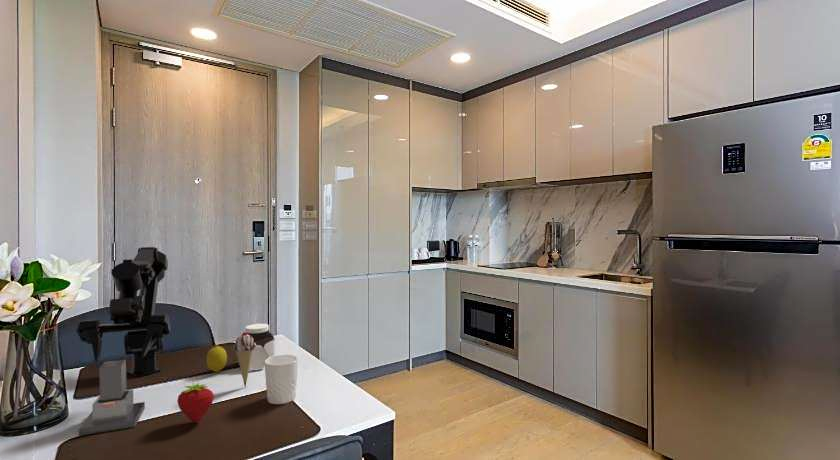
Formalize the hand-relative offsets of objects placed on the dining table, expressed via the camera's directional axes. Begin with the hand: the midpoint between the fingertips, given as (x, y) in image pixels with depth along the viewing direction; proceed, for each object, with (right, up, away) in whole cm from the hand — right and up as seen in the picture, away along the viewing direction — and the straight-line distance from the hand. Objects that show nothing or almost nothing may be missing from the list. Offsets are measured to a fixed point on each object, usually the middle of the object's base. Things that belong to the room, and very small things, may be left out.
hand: (119, 358), depth 102 cm
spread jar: (+21, -12, +32) cm, 40 cm away
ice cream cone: (+24, -12, +14) cm, 30 cm away
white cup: (+36, -12, +7) cm, 39 cm away
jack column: (+2, -11, -5) cm, 12 cm away
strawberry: (+21, -13, -6) cm, 25 cm away
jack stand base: (+2, -12, -5) cm, 14 cm away
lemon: (+11, -12, +25) cm, 30 cm away
